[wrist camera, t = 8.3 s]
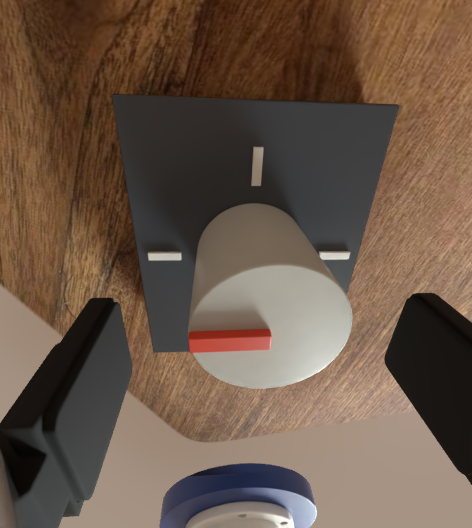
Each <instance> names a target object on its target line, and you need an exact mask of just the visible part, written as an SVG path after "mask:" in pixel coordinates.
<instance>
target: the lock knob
mask: <svg viewBox="0 0 472 528" xmlns="http://www.w3.org/2000/svg"><path fill="white" fill-rule="evenodd" d="M351 327H352V308H351V305H350V302H349V299H348V297H347V295H346V293H345V291H344V290H343V289H342V287H341V286H340V284H339V283H338V281H337V280H336V279H335V277H334V276H333V274H332V273H331V272H330V270H329V269H328V267H327V266H326V264H325V263H324V262H323V260H322V259H321V257H320V256H319V254H318V253H317V252H316V250H315V249H314V247H313V246H312V244H311V243H310V242H309V240H308V239H307V237H306V236H305V235H304V233H303V232H302V230H301V229H300V227H299V226H298V225H297V223H296V222H295V221H294V220H293V219H292V218H291V217H290V216H289V215H288V214H287V213H285V212H284V211H282V210H280V209H278V208H276V207H273V206H270V205H266V204H259V203H250V204H243V205H238V206H235V207H232V208H230V209H228V210H226V211H224V212H222V213H221V214H219V215H218V216H216V217H215V218H214V219H213V220H212V221H211V222H210V223H209V224H208V225H207V227H206V228H205V230H204V231H203V233H202V235H201V237H200V240H199V244H198V249H197V257H196V266H195V274H194V282H193V291H192V299H191V307H190V316H189V324H188V343H189V352H190V353H193V355H194V357H195V358H196V360H197V361H198V363H199V364H200V365H201V366H202V367H203V368H204V369H205V370H206V371H207V372H208V373H210V374H211V375H213V376H214V377H216V378H218V379H220V380H222V381H224V382H227V383H229V384H233V385H237V386H241V387H247V388H273V387H279V386H285V385H288V384H292V383H295V382H298V381H301V380H303V379H305V378H308V377H310V376H312V375H313V374H315V373H317V372H319V371H320V370H321V369H323V368H324V367H326V366H327V365H328V364H329V363H330V362H331V361H333V360H334V358H335V357H336V356H337V355H338V354H339V353H340V351H341V350H342V349H343V347H344V345H345V344H346V342H347V340H348V337H349V335H350V332H351Z"/></svg>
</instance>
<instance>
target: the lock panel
mask: <svg viewBox="0 0 472 528" xmlns="http://www.w3.org/2000/svg"><path fill="white" fill-rule="evenodd" d="M112 101H113V107H114V113H115V119H116V126H117V132H118V138H119V144H120V150H121V156H122V162H123V168H124V174H125V181H126V187H127V193H128V199H129V205H130V211H131V217H132V223H133V230H134V236H135V242H136V248H137V254H138V260H139V266H140V272H141V278H142V285H143V291H144V297H145V303H146V309H147V315H148V321H149V327H150V333H151V340H152V346H153V352H189V343H188V324H189V316H190V307H191V299H192V291H193V282H194V274H195V266H196V257H197V249H198V244H199V240H200V237H201V235H202V233H203V231H204V230H205V228H206V227H207V225H208V224H209V223H210V222H211V221H212V220H213V219H214V218H215V217H216V216H218V215H219V214H221V213H222V212H224V211H226V210H228V209H230V208H232V207H235V206H238V205H243V204H250V203H259V204H266V205H270V206H273V207H276V208H278V209H280V210H282V211H284V212H285V213H287V214H288V215H289V216H290V217H291V218H292V219H293V220H294V221H295V222H296V223H297V225H298V226H299V227H300V229H301V230H302V232H303V233H304V235H305V236H306V237H307V239H308V240H309V242H310V243H311V244H312V246H313V247H314V249H315V250H316V252H317V253H318V254H319V256H320V257H321V259H322V260H323V262H324V263H325V264H326V266H327V267H328V269H329V270H330V272H331V273H332V274H333V276H334V277H335V279H336V280H337V281H338V283H339V284H340V286H341V287H342V289H343V290H344V291H345V293H346V295H347V292H348V288H349V284H350V281H351V277H352V274H353V270H354V266H355V263H356V259H357V256H358V252H359V249H360V245H361V241H362V238H363V234H364V231H365V227H366V224H367V220H368V216H369V213H370V209H371V206H372V202H373V199H374V195H375V191H376V188H377V184H378V181H379V177H380V173H381V170H382V166H383V163H384V159H385V156H386V152H387V148H388V145H389V141H390V138H391V134H392V131H393V127H394V123H395V120H396V116H397V113H398V109H399V105H397V104H370V103H343V102H317V101H290V100H263V99H237V98H210V97H183V96H157V95H130V94H112Z"/></svg>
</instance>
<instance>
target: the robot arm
mask: <svg viewBox="0 0 472 528" xmlns="http://www.w3.org/2000/svg"><path fill="white" fill-rule="evenodd" d="M385 364H386V366H387V368H388V370H389V371H390V372H391V374H392V375H393V377H394V378H395V380H396V381H397V383H398V384H399V386H400V387H401V388H402V390H403V391H404V393H405V394H406V396H407V397H408V399H409V400H410V402H411V403H412V404H413V406H414V407H415V409H416V410H417V412H418V413H419V415H420V416H421V418H422V419H423V420H424V422H425V423H426V425H427V426H428V428H429V429H430V431H431V432H432V433H433V435H434V436H435V438H436V439H437V441H438V442H439V444H440V445H441V447H442V448H443V450H444V451H445V453H446V454H447V455H448V457H449V458H450V460H451V461H452V463H453V464H454V466H455V467H456V468H457V469H458V471H460V472H461V473H462V474H464V475H465V476H466V477H467V479H468V480H469V482H470V483H471V484H472V323H471V322H470V321H469V320H468V319H466V318H465V317H464V316H463V315H461V314H460V313H459V312H458V311H456V310H455V309H454V308H453V307H451V306H450V305H449V304H448V303H446V302H445V301H444V300H443V299H441V298H440V297H439V296H438V295H436V294H434V293H415V294H413V295H412V296H411V297H410V298H408V299H407V300H406V302H405V305H404V307H403V310H402V313H401V315H400V318H399V320H398V323H397V326H396V328H395V331H394V333H393V336H392V339H391V341H390V344H389V346H388V349H387V352H386V354H385ZM131 374H132V361H131V356H130V352H129V347H128V342H127V337H126V332H125V327H124V323H123V318H122V313H121V308H120V304H119V303H118V302H114V301H113V299H112V298H91V299H90V300H89V301H88V303H87V304H86V306H85V307H84V308H83V310H82V311H81V313H80V314H79V316H78V317H77V319H76V320H75V322H74V323H73V324H72V326H71V327H70V329H69V330H68V332H67V333H66V335H65V336H64V338H63V339H62V341H61V342H60V343H58V344H57V345H55V346H54V348H53V349H52V350H51V351H50V353H49V354H48V356H47V357H46V359H45V360H44V361H43V363H42V364H41V366H40V367H39V369H38V370H37V372H36V373H35V374H34V376H33V377H32V379H31V380H30V381H29V383H28V384H27V386H26V387H25V389H24V390H23V391H22V393H21V394H20V396H19V397H18V399H17V400H16V401H15V403H14V404H13V406H12V407H11V409H10V410H9V411H8V413H7V414H6V416H5V417H4V419H3V420H2V421H1V423H0V528H58V527H59V525H60V522H61V519H62V517H69V516H79V514H80V511H81V508H82V505H83V502H84V500H89V499H90V498H91V496H92V494H93V492H94V489H95V486H96V483H97V480H98V477H99V474H100V471H101V468H102V464H103V461H104V458H105V455H106V452H107V449H108V446H109V443H110V440H111V437H112V433H113V430H114V427H115V424H116V421H117V418H118V415H119V412H120V409H121V406H122V402H123V399H124V396H125V393H126V390H127V387H128V384H129V381H130V378H131ZM186 528H294V523H293V518H292V515H291V513H290V512H289V511H288V510H286V509H285V508H284V507H282V506H279V505H277V504H273V503H269V502H262V501H238V502H231V503H225V504H221V505H217V506H213V507H210V508H207V509H205V510H203V511H201V512H199V513H197V514H196V515H194V516H193V517H192V518H191V519H190V520H189V521H188V523H187V524H186Z"/></svg>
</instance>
